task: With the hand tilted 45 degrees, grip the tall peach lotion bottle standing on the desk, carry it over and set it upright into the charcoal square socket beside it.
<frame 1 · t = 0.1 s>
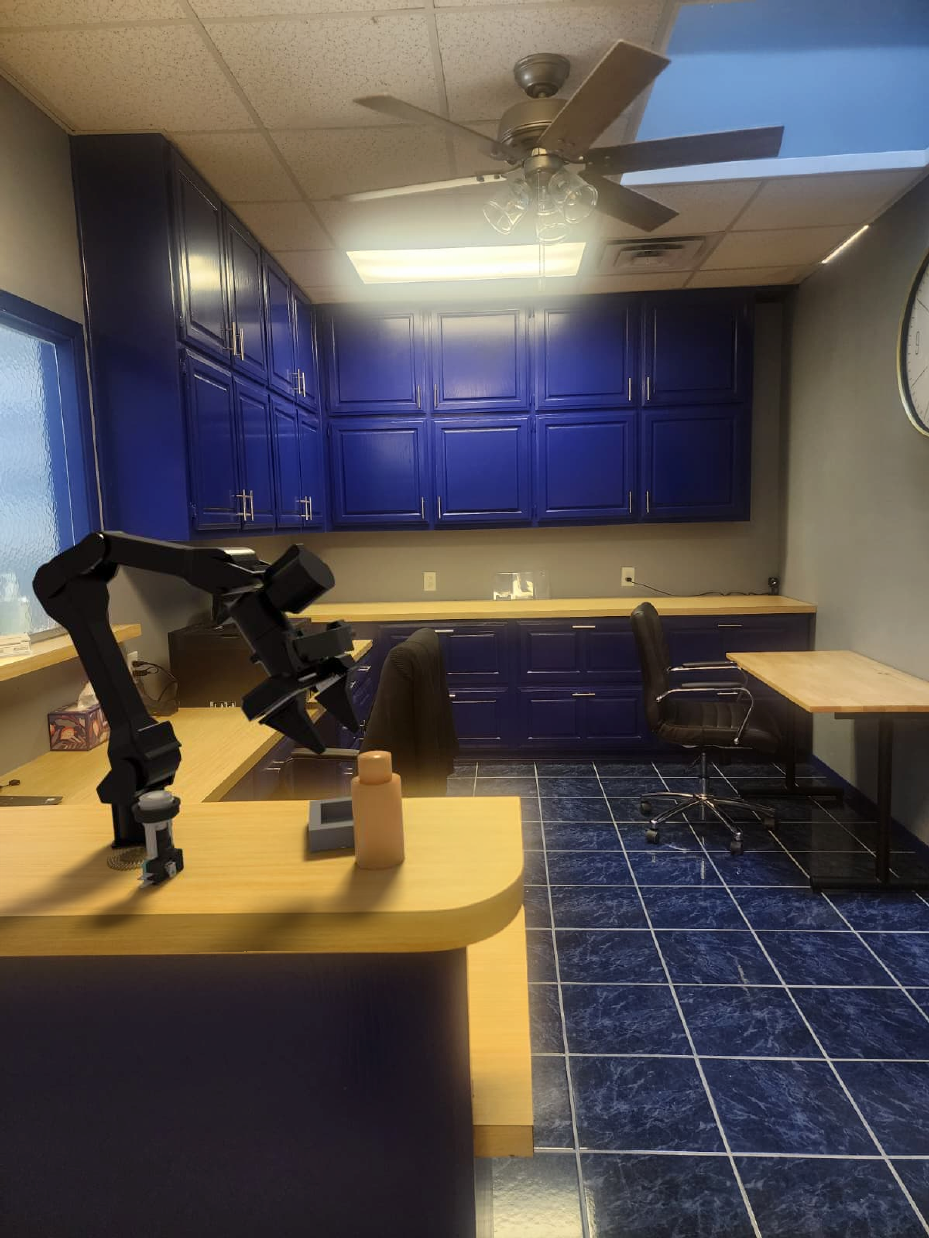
hand: (341, 741, 88), 15 cm above the table, tool tilted 35°, fingers open, 9 cm apart
push button: (159, 880, 86), on the table
socket: (352, 830, 99), on the table
peach lotion bottle: (380, 858, 89), on the table
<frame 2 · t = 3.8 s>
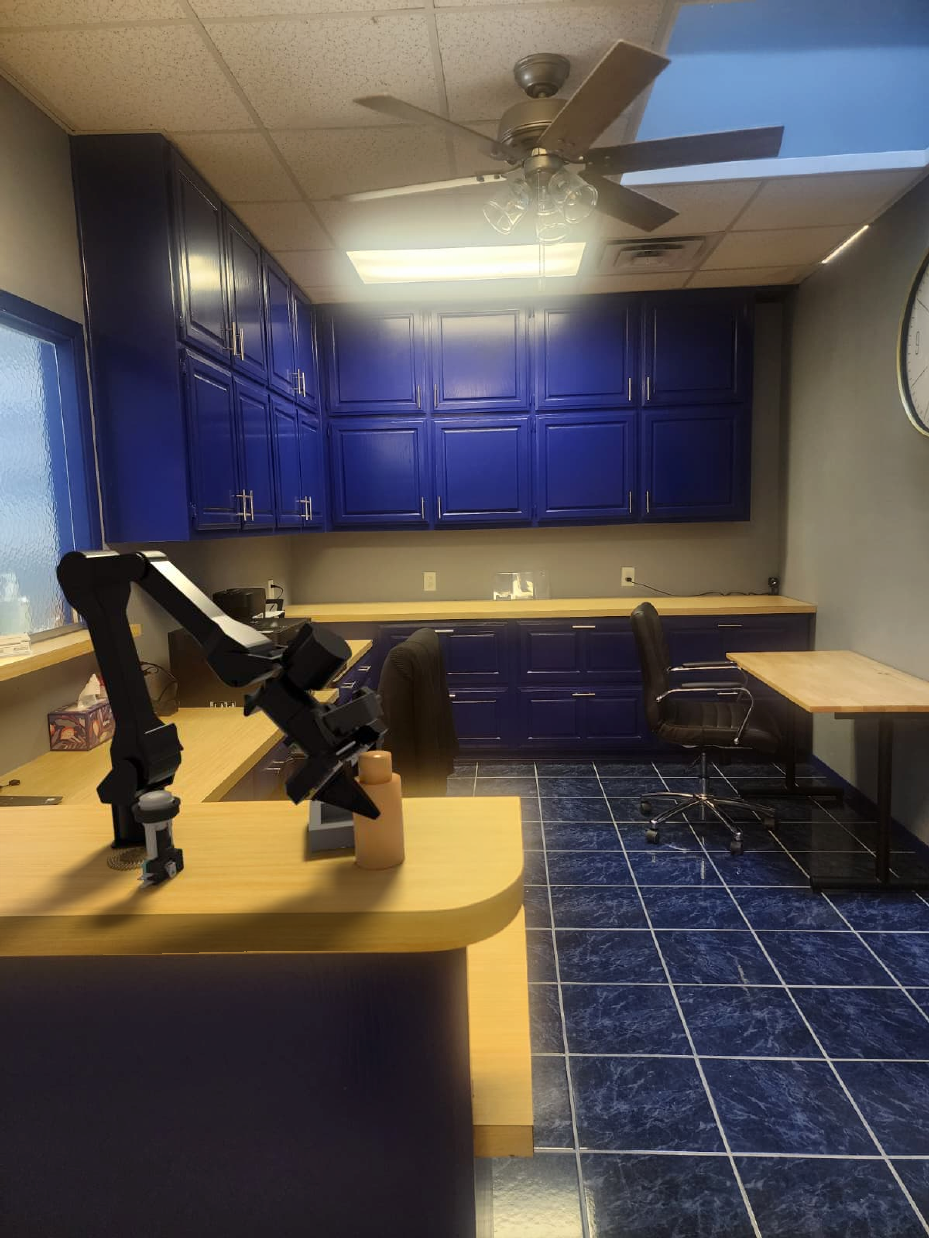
hand: (388, 807, 88), 7 cm above the table, tool tilted 45°, fingers closed on peach lotion bottle, 6 cm apart
peach lotion bottle: (380, 858, 89), on the table, touching gripper
everything else where it was.
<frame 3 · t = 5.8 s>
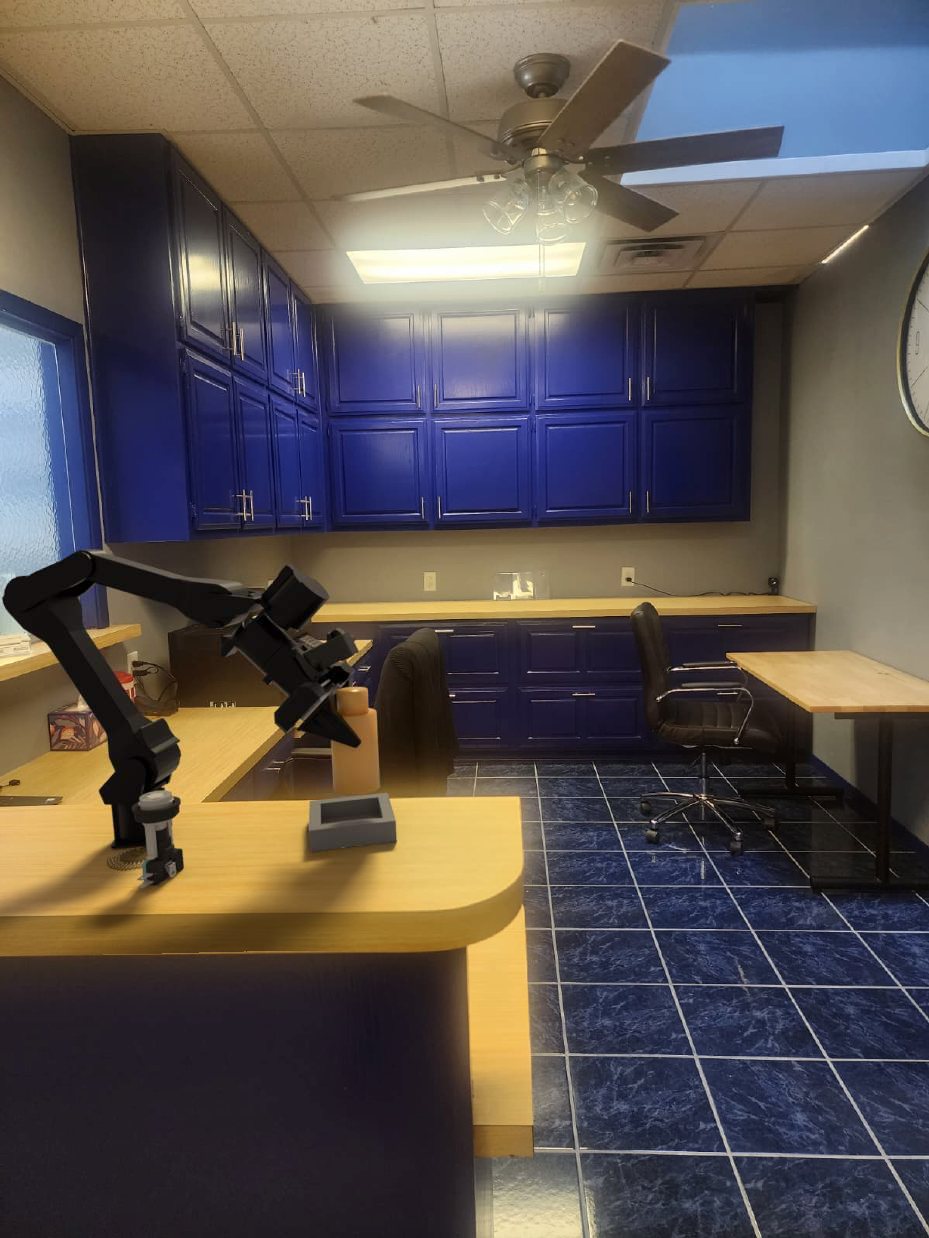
hand: (364, 738, 95), 13 cm above the table, tool tilted 45°, fingers closed on peach lotion bottle, 6 cm apart
peach lotion bottle: (356, 787, 95), point 7 cm above the table, touching gripper
everything else where it was.
when the fingers open (9 cm above the table, at t = 8.1 s): peach lotion bottle drops 1 cm, resting on socket.
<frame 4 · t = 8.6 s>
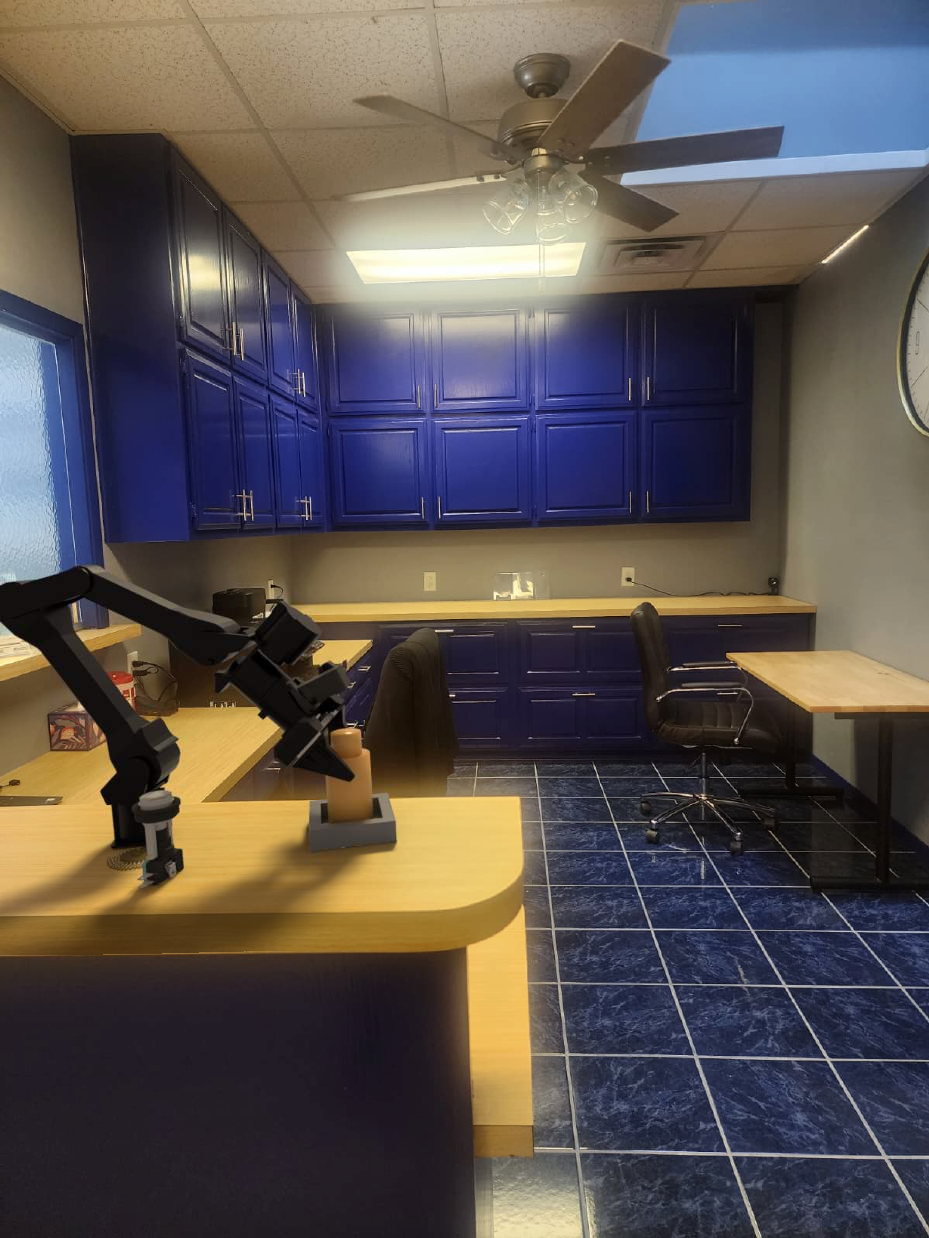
hand: (358, 767, 98), 9 cm above the table, tool tilted 45°, fingers open, 9 cm apart
peach lotion bottle: (351, 826, 99), point 1 cm above the table, touching socket
everything else where it was.
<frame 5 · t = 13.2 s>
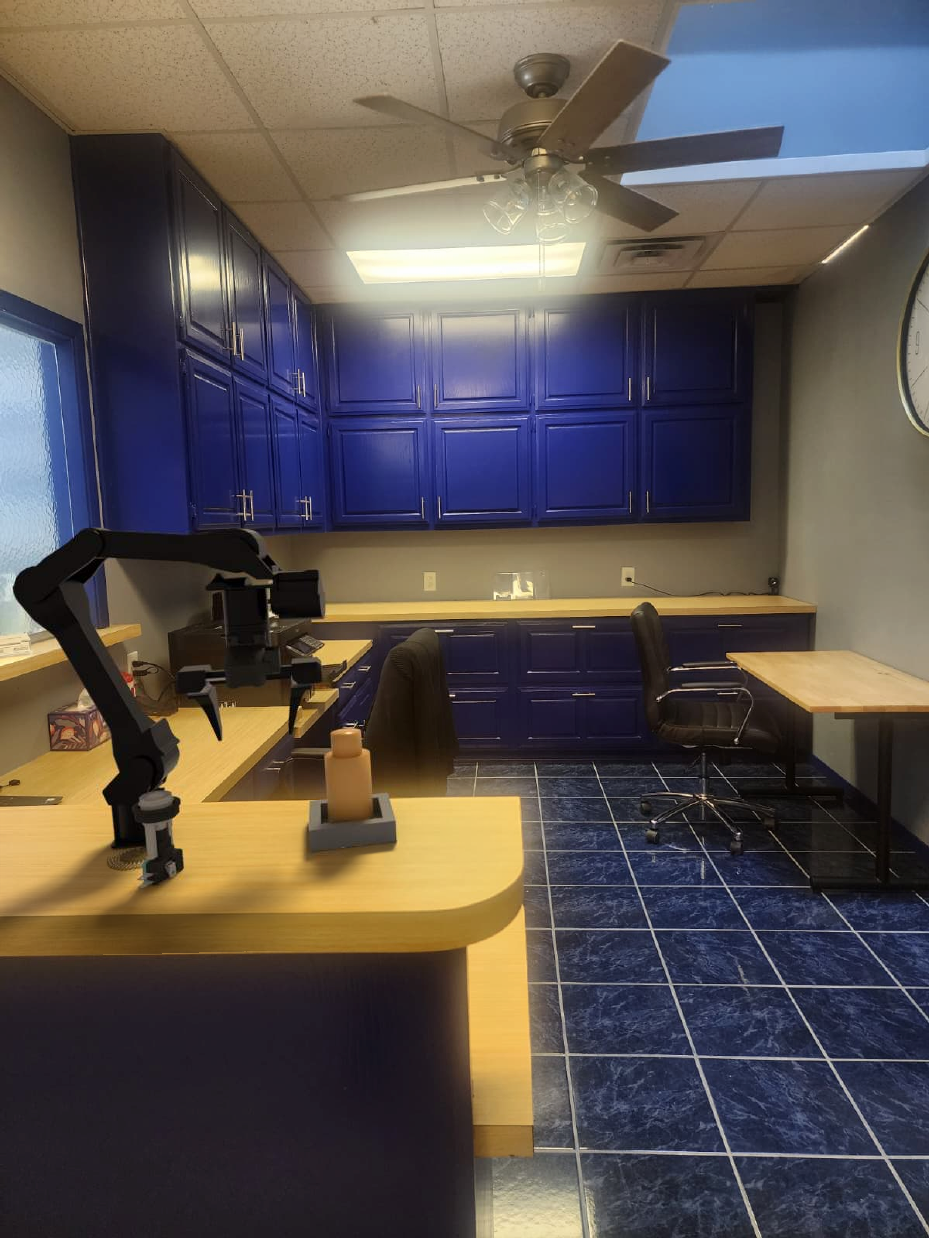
hand: (255, 737, 99), 13 cm above the table, tool pointing down, fingers open, 9 cm apart
nothing on the table moved.
at the end: peach lotion bottle 0.0 cm from the target spot, point 0.6 cm above the table; peach lotion bottle tilted 0°; the gripper is holding nothing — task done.
